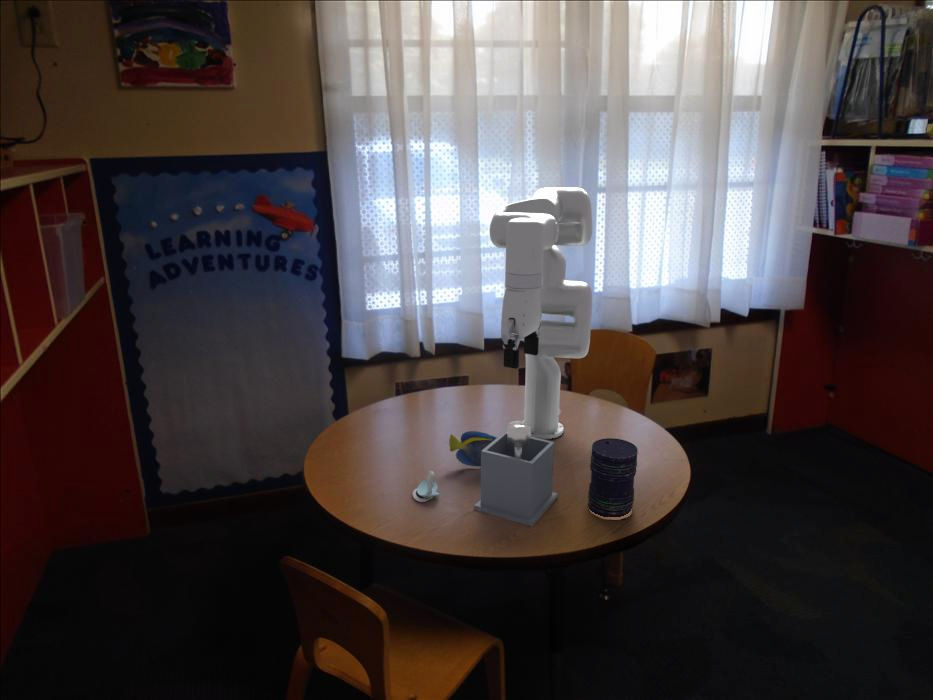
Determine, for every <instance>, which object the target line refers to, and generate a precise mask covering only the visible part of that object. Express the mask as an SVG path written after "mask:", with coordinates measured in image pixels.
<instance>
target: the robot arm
mask: <svg viewBox="0 0 933 700" xmlns="http://www.w3.org/2000/svg"><path fill="white" fill-rule="evenodd" d="M591 203H592V202H591V199H590V196H589V194H588V193H587V191H586V190H584V188H580V187H560V186H559V187H557V186H556V187H555V186H553V187H552V186H551V187H549V186H548V187H547V186H545V187H542V188H539V189H537V190H536V191H534V193H533V194H532V195H531V196H530V198H529V199H525V200H524V199H523V200H521V201H517V202H516V201H515V202H512V203H508V204H505V205H502V206H500V207H499V208H498V209H497V211H496V212H494V215H493V216H492V218H491V221H490V225H489V238H490V241H491V243H492V244H493V245H494V246H495V247H496V248H498V249H505V270H504V273H505V274H504V277H505V278H504V288H505V290H504V293H503V300H502V309H501V322H500V335H501V343H502V348H503V367H505V368H510V369H518V368H519V367H520V349H518V348H519V345H520V342H521V340H522V339H523V353H524V355H525V382H524V383H525V384H524V412H523V413H524V414H523V415H524V417H523V420H522V421H524V422H527V423H529V424H530V425H531V431H530V437H535V438H539V439H543V440H552V438H553V439H555V438H558V437H560V436H562V435H563V434H564V429H565V428H564V425H563V424H562V423H560V422H559V421H560V420H559V417H560V416H559V415H560V414H561V413H562V409H561V408H560V397H561V396H560V395H561V380H562V379H561V378H562V376H561V375H562V374H561V373H562V372H561V368H560V365H559V364H558V362H557V360H555V358H567V359H583V358H585V357H587V355H588V353H589V349H590V343H591V330H592V329H591V328H592V314H593V292H592V288H591V286H590V284H588V283H587V282H585V281H580V280H567V279H566V268H567V260H566V258H565V256H564V255H563V253H562V251H561V250H560V248H558V247H557V246H565V247H584V246H586V245H587V244H588V243H590V241H591V239H592V237H593V236H592V234H593V217H592V216H593V215H592V214H593V212H592V204H591ZM542 316H551V317H552V316H555V317H568V318H572V320H573V321H572V322H571V321H558V320H548V319H546V320H544V319H542ZM513 340H514V341H513ZM562 433H563V434H562Z"/></svg>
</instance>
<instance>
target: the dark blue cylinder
mask: <svg viewBox="0 0 933 700" xmlns="http://www.w3.org/2000/svg"><path fill="white" fill-rule="evenodd" d="M638 451H639V450H638V447H637V445H635V444H634V443H632V442H630V441H628V440H624V439H621V438H615V437H614V438H613V437H612V438H608V437H607V438H601V439H598V440H595V441H594V442H593V443H592V445H591V454H590V464H589V467H590V471H591V472H590V473H591V475H590V482H589V484H588V495H587V498H588V499H587V500H588V503H587V508H588V507H589V509H590V510H591V511H592V512H594V513H595V514H598V515H600V516H603V517H621V516H624V515H626V514H628V513H629V512H630V511H631V509H632V510H633V506H634V500H635V488H634V483H635V476H636V474H637V467H638V453H639V452H638Z"/></svg>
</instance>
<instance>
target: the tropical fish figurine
mask: <svg viewBox="0 0 933 700" xmlns="http://www.w3.org/2000/svg"><path fill="white" fill-rule="evenodd" d="M496 438H498V436H494V435H491V434H489V433H487V432H483V431H477V430H470V431H469V430H468V431H464V432H463V433H461V436H460V440H459V439H458V438H457V437H456V436H454V435H453V434H450V435H449V441H448V442H449V443H448V445H449V451H450V452H455V451H456V450H457V451H456V453H455V457H456V460H458V462H459V463H461V464H462V465H465V466H470V467H481V451H482V450H483V449H484V448H485V447H487V446H488V445H489V444H490V443H492V442H493V441H494V440H495V439H496Z"/></svg>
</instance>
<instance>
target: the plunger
mask: <svg viewBox="0 0 933 700" xmlns="http://www.w3.org/2000/svg"><path fill="white" fill-rule="evenodd" d="M506 431H507V443H508V444H509V445H510V446H513V447H515V454H514V457H515V458H519V459H522V447H526V446H528V445H529V444H530V431H531V425H530V424H529V423H527V422H524V421H523V420H512V421H509V422H508V423H507V429H506Z"/></svg>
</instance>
